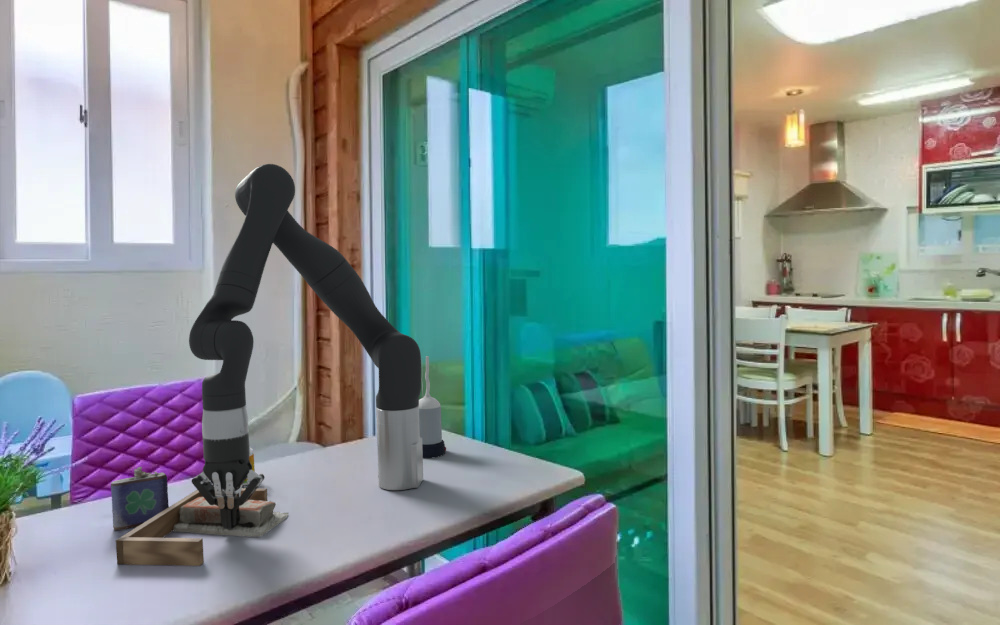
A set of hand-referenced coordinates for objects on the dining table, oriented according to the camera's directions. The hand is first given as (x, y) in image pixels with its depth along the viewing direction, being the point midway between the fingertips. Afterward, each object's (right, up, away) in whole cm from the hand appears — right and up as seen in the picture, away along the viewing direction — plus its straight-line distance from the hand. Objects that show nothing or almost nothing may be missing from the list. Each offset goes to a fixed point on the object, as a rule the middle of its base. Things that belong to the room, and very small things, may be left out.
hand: (230, 526), depth 113 cm
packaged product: (-2, -2, +5) cm, 6 cm away
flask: (-19, -2, +6) cm, 20 cm away
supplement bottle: (-9, 0, +28) cm, 29 cm away
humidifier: (+30, +2, +48) cm, 57 cm away
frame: (-6, -1, +1) cm, 6 cm away
